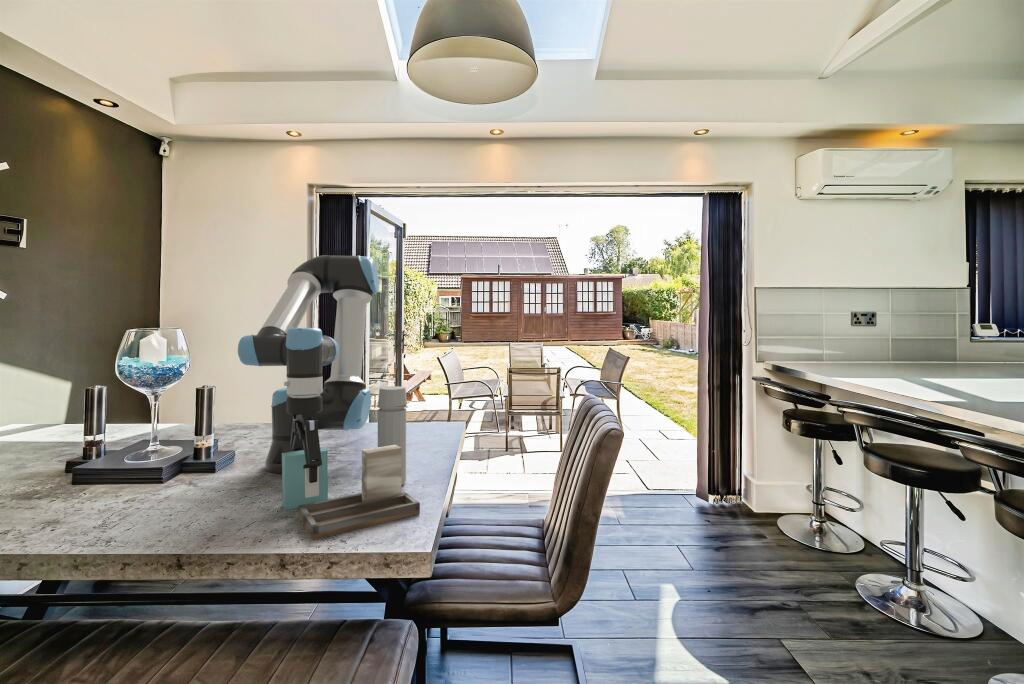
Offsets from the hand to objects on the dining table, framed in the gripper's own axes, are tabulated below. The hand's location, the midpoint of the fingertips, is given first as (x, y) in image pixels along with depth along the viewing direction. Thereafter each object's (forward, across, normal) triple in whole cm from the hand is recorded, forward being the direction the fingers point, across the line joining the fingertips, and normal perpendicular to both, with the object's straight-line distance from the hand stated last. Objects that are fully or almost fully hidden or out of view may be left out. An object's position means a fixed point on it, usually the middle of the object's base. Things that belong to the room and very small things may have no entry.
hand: (304, 487), depth 108 cm
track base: (+4, +14, +8) cm, 16 cm away
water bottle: (+4, -2, +22) cm, 23 cm away
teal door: (+4, 0, 0) cm, 4 cm away
